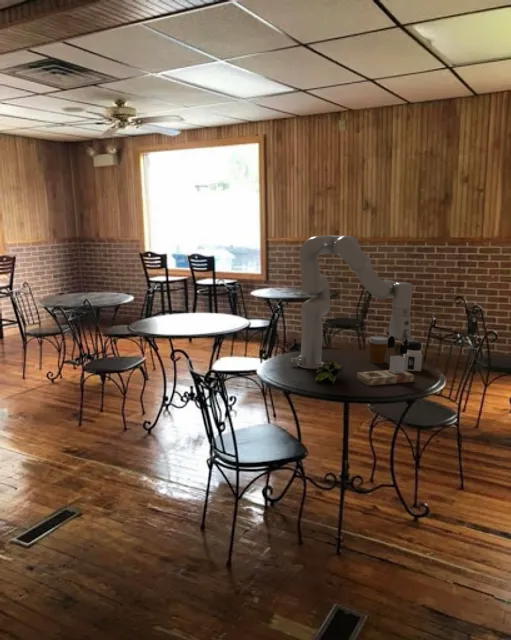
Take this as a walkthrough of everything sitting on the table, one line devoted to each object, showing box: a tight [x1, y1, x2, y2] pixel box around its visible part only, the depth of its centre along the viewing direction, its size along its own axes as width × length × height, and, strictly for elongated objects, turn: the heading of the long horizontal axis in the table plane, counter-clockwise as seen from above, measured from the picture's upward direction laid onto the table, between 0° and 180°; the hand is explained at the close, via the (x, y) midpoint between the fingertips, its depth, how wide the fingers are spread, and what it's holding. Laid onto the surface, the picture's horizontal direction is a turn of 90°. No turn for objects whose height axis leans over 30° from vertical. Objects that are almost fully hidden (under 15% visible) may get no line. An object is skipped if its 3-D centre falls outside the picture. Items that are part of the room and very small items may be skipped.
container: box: [403, 340, 423, 372], centre depth 246 cm, size 8×8×13 cm
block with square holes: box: [356, 369, 415, 386], centre depth 228 cm, size 22×9×3 cm, turn 108°
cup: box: [393, 343, 403, 357], centre depth 258 cm, size 8×7×8 cm
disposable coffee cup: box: [368, 335, 388, 365], centre depth 256 cm, size 10×10×12 cm
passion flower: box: [314, 359, 345, 385], centre depth 224 cm, size 11×11×12 cm
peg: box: [388, 355, 405, 375], centre depth 229 cm, size 4×4×10 cm
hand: (396, 350), depth 228 cm, fingers open, 9 cm apart
